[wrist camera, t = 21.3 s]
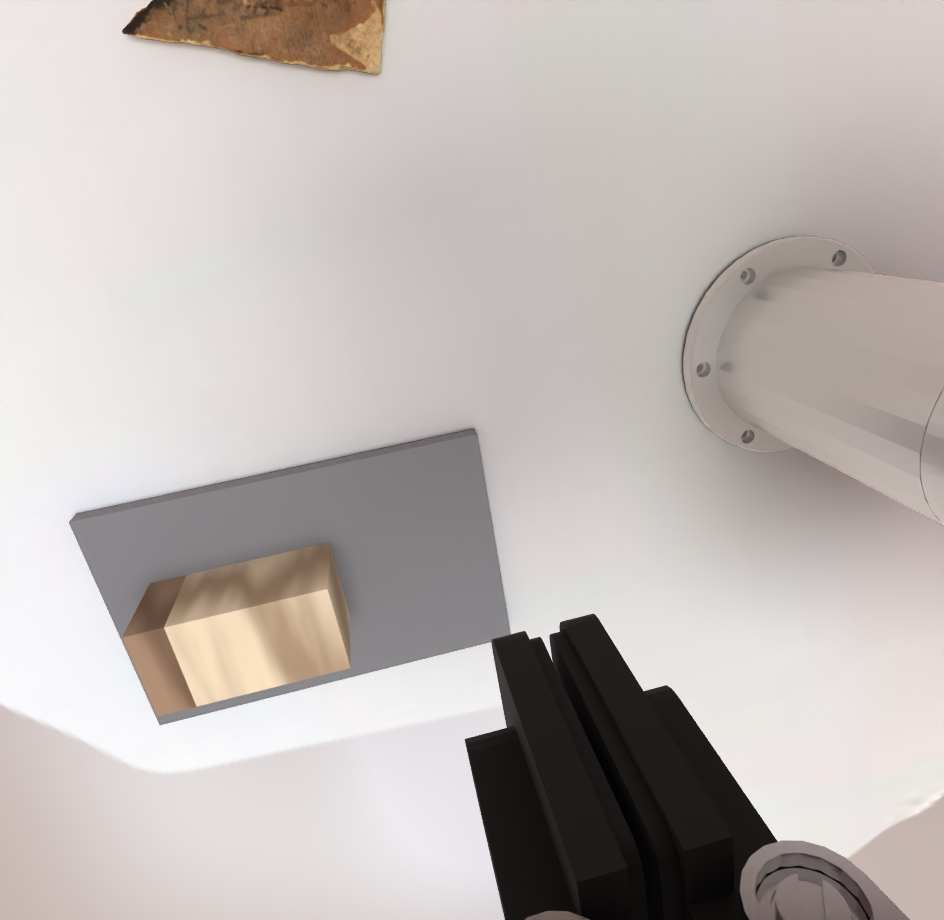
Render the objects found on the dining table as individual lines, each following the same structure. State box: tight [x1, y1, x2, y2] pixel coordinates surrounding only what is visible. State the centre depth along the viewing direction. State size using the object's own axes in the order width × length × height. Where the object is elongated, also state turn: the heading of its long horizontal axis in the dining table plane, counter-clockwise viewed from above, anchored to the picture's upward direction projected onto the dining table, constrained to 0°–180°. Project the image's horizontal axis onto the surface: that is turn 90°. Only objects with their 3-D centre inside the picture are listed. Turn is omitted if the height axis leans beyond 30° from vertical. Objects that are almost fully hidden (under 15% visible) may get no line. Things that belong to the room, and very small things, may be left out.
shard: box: [122, 0, 385, 74], centre depth 28 cm, size 11×8×2 cm
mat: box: [69, 429, 511, 725], centre depth 38 cm, size 22×14×1 cm, turn 99°
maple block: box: [122, 542, 350, 717], centre depth 35 cm, size 5×5×10 cm
